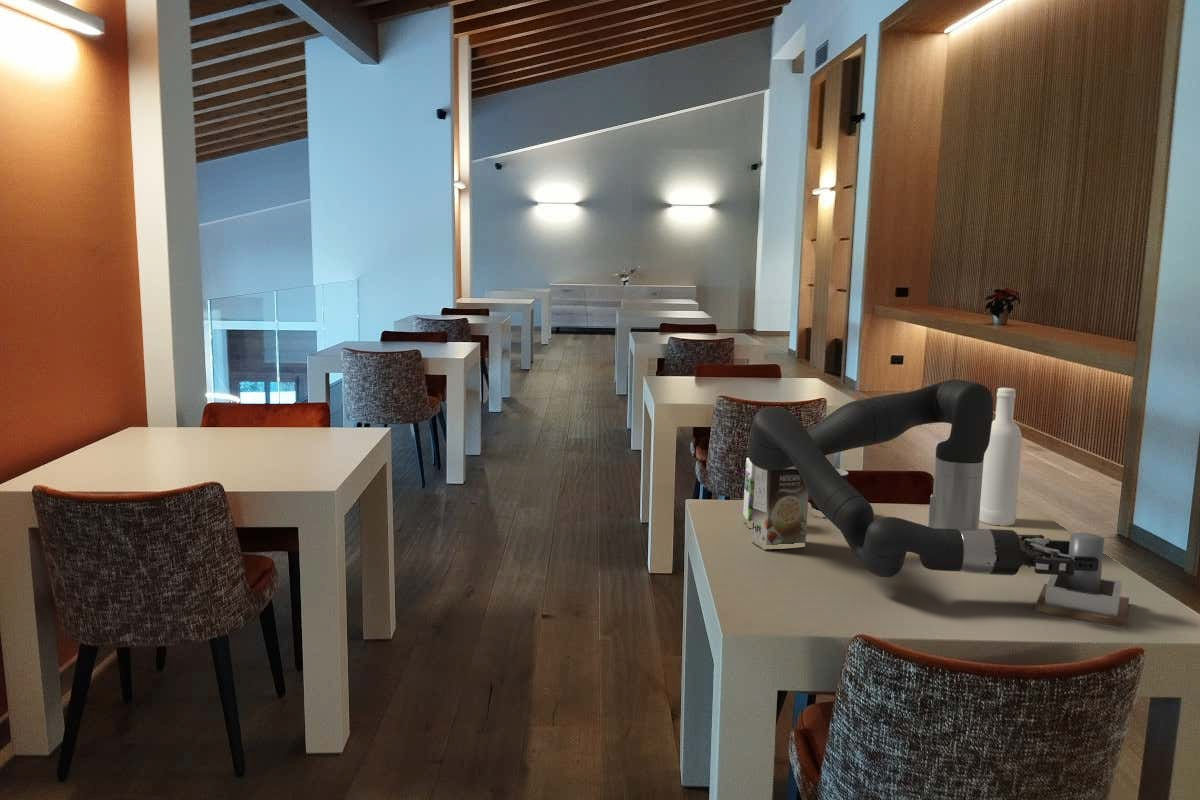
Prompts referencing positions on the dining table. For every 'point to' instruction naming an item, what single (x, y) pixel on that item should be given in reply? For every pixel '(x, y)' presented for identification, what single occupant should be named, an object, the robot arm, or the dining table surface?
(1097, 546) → the grey capsule cylinder
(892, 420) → the robot arm
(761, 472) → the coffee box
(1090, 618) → the socket board
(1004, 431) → the bottle
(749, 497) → the syrup box
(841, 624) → the dining table surface
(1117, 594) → the collar
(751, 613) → the dining table surface
